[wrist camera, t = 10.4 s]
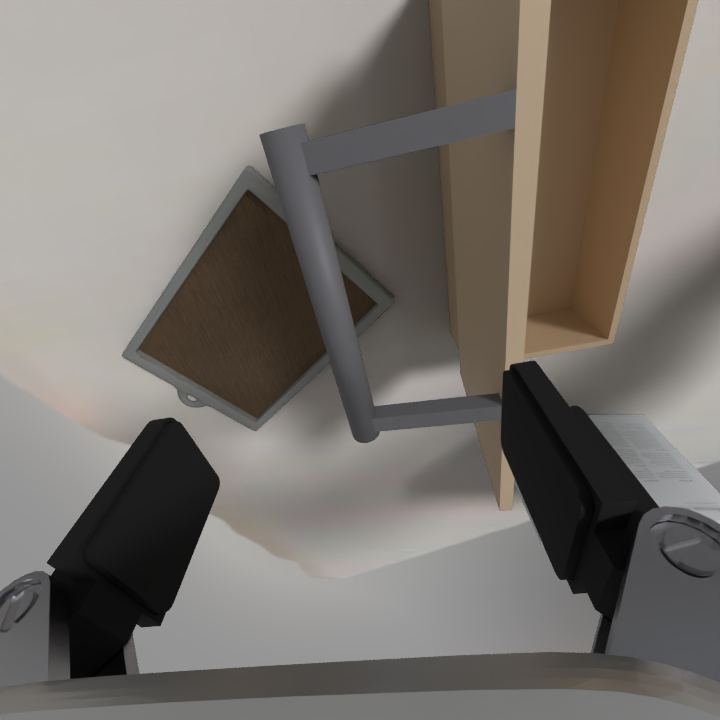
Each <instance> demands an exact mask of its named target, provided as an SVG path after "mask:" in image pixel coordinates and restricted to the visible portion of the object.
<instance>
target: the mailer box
mask: <svg viewBox="0 0 720 720" xmlns="http://www.w3.org/2000/svg"><path fill="white" fill-rule="evenodd" d="M697 4H698V0H551V10H550V23H549V36H548V49H547V62H546V75H545V88H544V101H543V114H542V127H541V140H540V153H539V167H538V180H537V193H536V206H535V219H534V232H533V245H532V258H531V271H530V284H529V297H528V310H527V323H526V336H525V349H524V359H527V358H533V357H538V356H544V355H550V354H556V353H562V352H567V351H573V350H579V349H585V348H591V347H597V346H602V345H608V344H613V343H614V339H615V335H616V331H617V327H618V323H619V319H620V315H621V311H622V307H623V303H624V299H625V295H626V291H627V287H628V283H629V279H630V275H631V271H632V267H633V263H634V259H635V255H636V251H637V246H638V242H639V238H640V234H641V230H642V226H643V222H644V218H645V214H646V210H647V206H648V202H649V198H650V194H651V190H652V186H653V182H654V178H655V174H656V170H657V166H658V162H659V158H660V154H661V150H662V146H663V142H664V138H665V134H666V129H667V125H668V121H669V117H670V113H671V109H672V105H673V101H674V97H675V93H676V89H677V85H678V81H679V77H680V73H681V69H682V65H683V61H684V57H685V53H686V49H687V45H688V41H689V37H690V33H691V29H692V25H693V21H694V17H695V12H696V8H697ZM429 14H430V29H431V44H432V59H433V75H434V90H435V105H436V109H438V108H442V107H446V106H447V101H446V81H445V61H444V42H443V22H442V3H441V0H429ZM438 151H439V166H440V181H441V196H442V211H443V227H444V242H445V257H446V272H447V287H448V303H449V318H450V332H451V334H452V336H453V338H454V340H455V342H456V344H457V347H458V349H459V336H458V317H457V297H456V277H455V258H454V238H453V218H452V199H451V179H450V160H449V144H444V145H440V146H438Z"/></svg>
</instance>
